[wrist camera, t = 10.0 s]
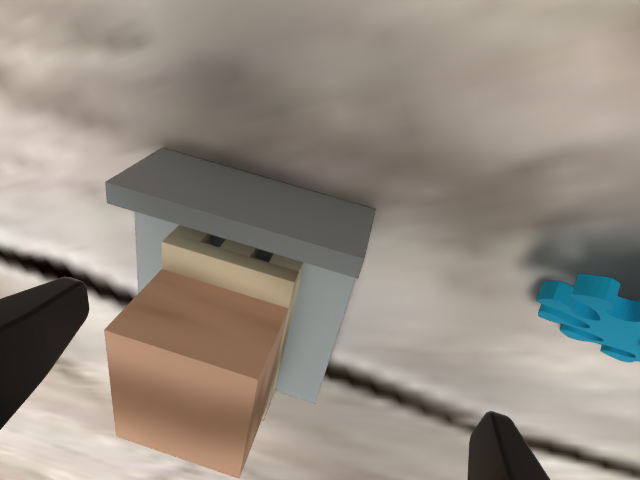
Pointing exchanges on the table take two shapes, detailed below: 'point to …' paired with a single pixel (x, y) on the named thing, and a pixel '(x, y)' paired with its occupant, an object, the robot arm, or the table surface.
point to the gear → (594, 314)
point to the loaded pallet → (202, 350)
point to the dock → (255, 242)
